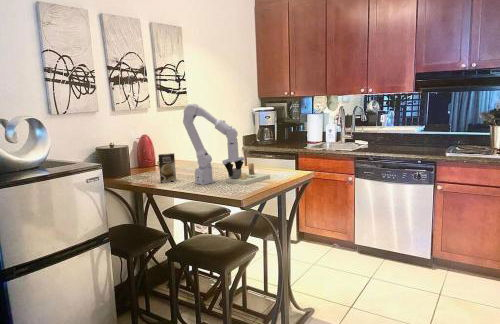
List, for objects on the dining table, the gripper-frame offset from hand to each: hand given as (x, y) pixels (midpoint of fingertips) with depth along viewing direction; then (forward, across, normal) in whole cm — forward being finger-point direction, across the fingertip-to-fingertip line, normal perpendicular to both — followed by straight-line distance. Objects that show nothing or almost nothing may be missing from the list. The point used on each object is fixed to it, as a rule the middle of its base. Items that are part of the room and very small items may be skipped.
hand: (234, 175), depth 208 cm
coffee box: (+4, -20, +35) cm, 41 cm away
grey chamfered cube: (+1, 0, 0) cm, 1 cm away
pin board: (+4, +6, -4) cm, 8 cm away
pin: (+2, +12, -1) cm, 13 cm away
